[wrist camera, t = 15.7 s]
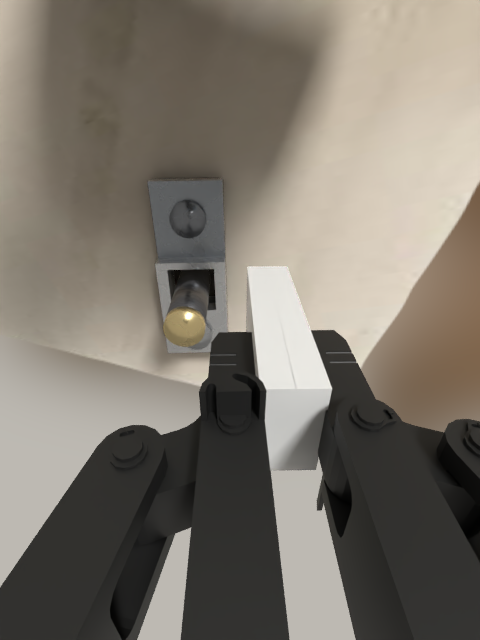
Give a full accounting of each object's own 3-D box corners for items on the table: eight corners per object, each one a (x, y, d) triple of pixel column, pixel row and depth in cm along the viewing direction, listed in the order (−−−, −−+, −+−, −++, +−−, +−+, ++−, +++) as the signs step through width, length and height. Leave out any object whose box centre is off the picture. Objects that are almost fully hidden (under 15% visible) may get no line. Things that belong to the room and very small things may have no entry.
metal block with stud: (151, 179, 38) (141, 185, 33) (222, 177, 38) (221, 183, 33) (172, 336, 48) (167, 356, 44) (228, 335, 48) (228, 355, 44)
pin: (178, 263, 42) (160, 311, 31) (209, 262, 43) (203, 310, 31) (181, 291, 44) (165, 347, 33) (211, 291, 45) (206, 346, 33)
